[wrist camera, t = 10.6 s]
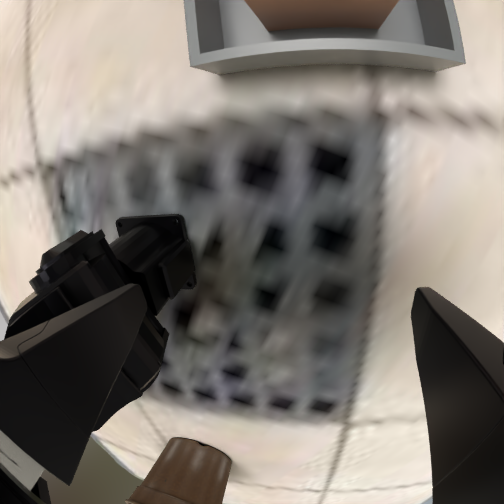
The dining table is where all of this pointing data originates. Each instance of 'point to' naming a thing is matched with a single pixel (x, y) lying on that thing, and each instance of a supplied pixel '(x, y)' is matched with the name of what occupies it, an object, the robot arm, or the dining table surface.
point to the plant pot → (185, 476)
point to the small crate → (321, 13)
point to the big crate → (322, 39)
